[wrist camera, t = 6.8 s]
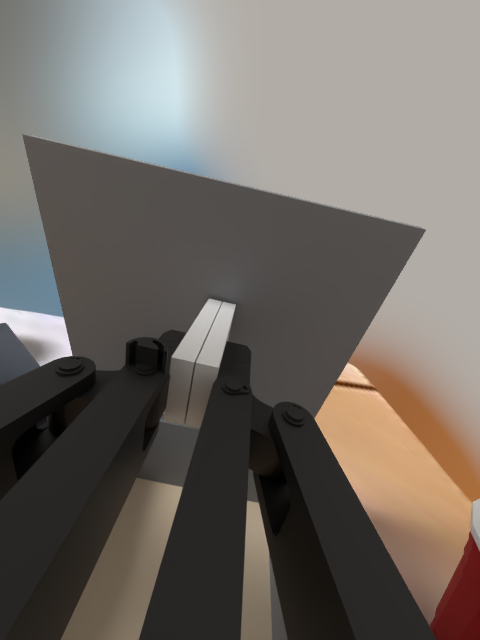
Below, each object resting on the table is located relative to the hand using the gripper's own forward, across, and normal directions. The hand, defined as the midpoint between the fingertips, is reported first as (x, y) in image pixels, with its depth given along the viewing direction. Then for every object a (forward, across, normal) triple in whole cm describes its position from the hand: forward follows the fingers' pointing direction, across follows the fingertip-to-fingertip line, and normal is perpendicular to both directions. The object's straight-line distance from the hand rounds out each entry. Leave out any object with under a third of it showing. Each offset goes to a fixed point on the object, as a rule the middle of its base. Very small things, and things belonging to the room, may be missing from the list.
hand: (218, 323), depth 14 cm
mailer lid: (+1, -1, -1) cm, 2 cm away
